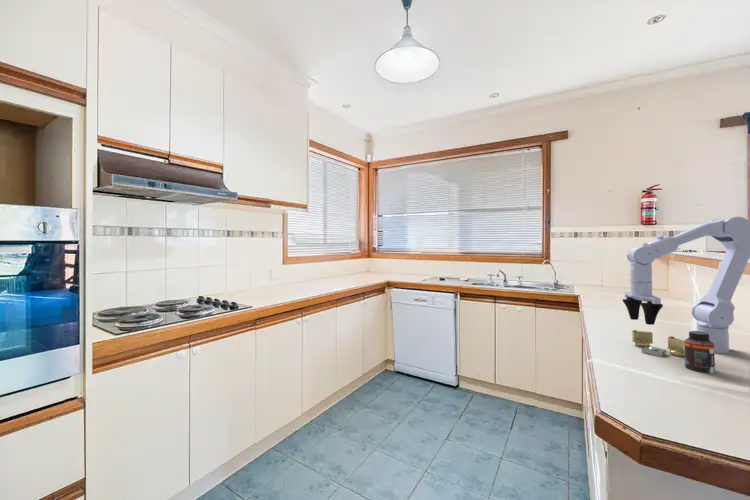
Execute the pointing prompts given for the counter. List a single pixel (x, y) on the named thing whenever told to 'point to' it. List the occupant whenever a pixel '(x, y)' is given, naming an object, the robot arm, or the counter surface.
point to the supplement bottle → (699, 352)
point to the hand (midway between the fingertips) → (641, 321)
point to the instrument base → (654, 351)
